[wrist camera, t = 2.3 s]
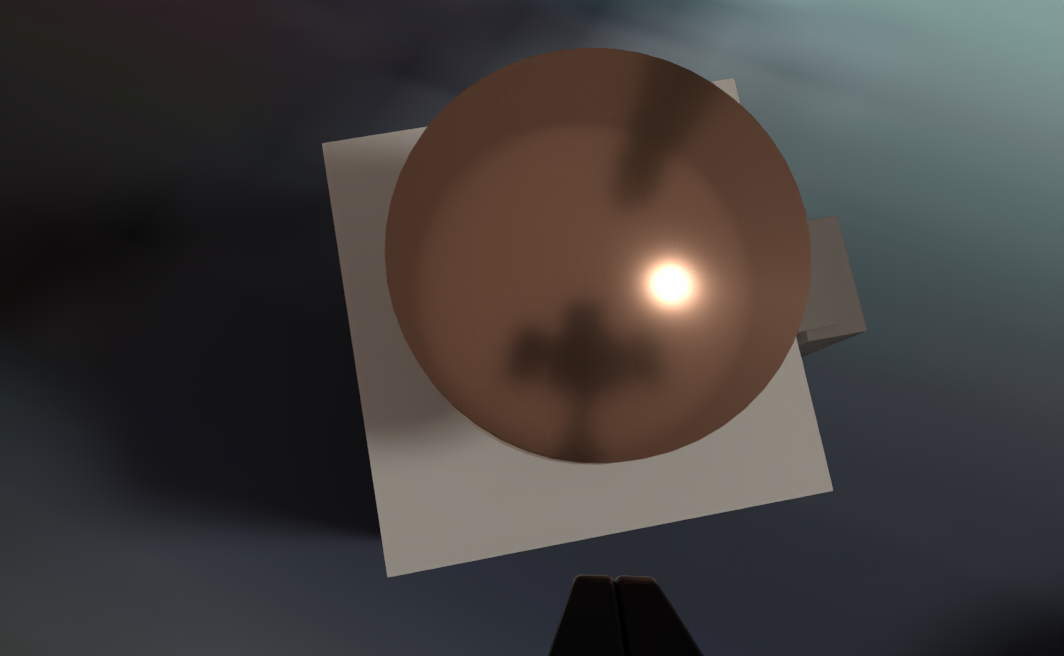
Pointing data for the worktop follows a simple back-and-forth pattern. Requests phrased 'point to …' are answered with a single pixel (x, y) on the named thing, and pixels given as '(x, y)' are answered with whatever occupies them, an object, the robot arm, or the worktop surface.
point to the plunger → (597, 256)
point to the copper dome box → (534, 483)
